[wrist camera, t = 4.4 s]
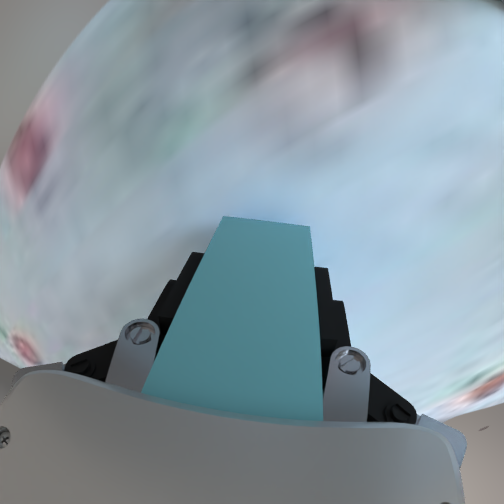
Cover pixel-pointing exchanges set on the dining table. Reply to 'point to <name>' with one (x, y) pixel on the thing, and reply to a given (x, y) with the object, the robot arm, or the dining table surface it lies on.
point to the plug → (247, 327)
